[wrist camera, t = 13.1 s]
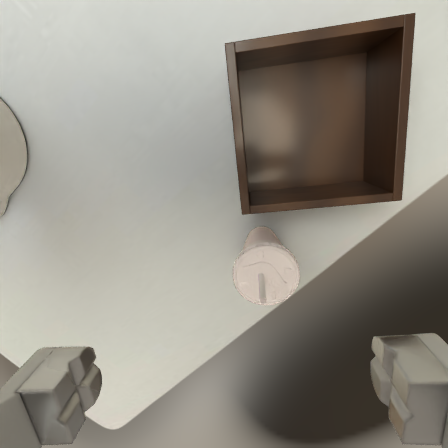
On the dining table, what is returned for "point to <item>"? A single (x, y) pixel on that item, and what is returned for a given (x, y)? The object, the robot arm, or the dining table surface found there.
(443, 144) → the dining table surface
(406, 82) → the brown wooden open box
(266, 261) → the smoothie
